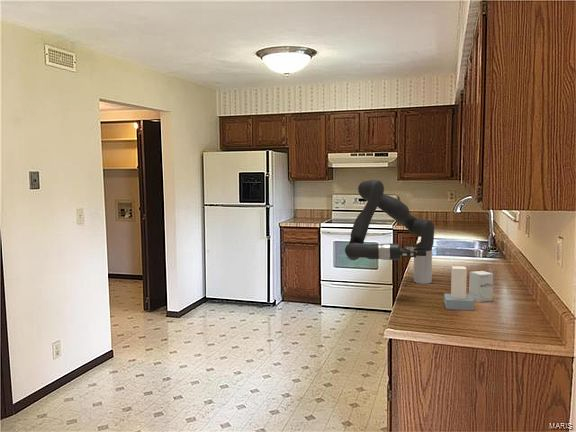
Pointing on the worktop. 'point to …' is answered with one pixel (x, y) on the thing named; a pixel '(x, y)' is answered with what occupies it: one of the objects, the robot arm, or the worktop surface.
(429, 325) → the worktop surface
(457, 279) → the cream block
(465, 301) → the plinth
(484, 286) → the supplement box
